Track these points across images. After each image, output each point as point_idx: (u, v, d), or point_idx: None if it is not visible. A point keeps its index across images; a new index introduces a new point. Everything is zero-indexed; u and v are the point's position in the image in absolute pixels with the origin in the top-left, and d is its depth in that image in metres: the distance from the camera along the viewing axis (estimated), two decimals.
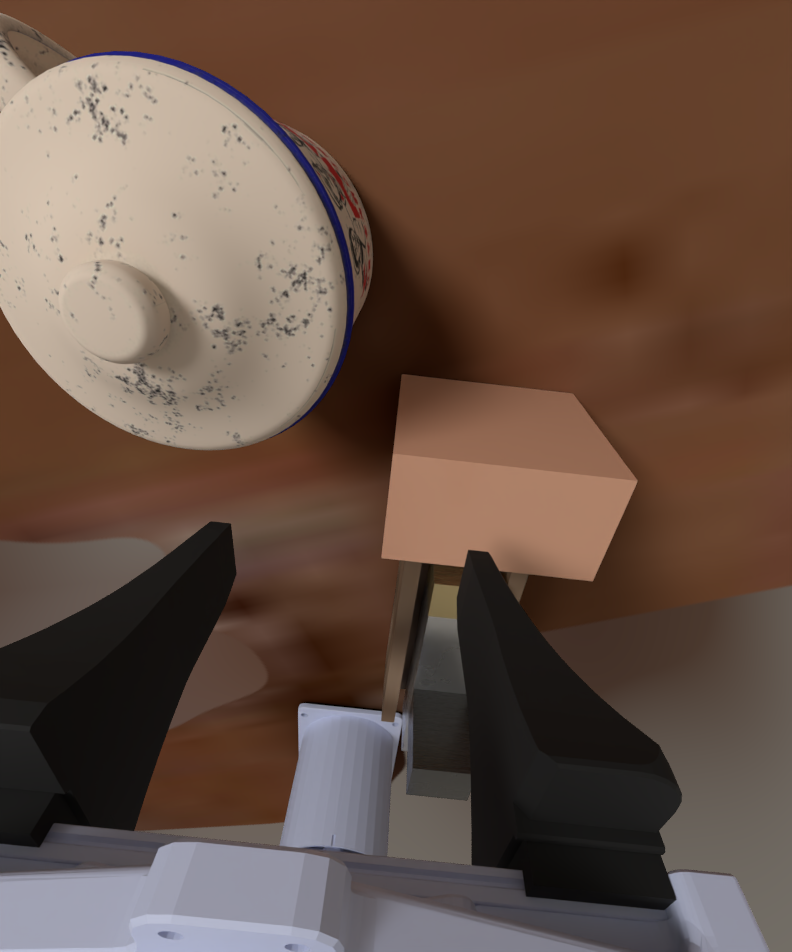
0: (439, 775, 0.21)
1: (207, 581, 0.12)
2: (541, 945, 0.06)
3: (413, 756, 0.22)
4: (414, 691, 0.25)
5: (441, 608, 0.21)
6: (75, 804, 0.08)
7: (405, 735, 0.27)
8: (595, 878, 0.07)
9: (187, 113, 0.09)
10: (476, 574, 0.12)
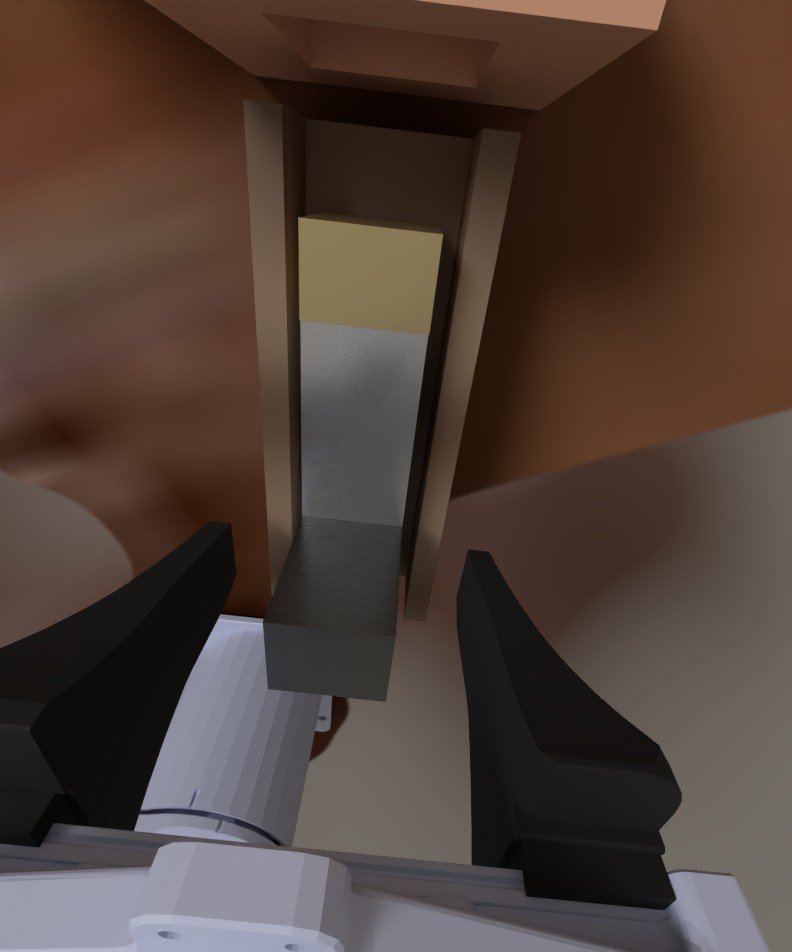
0: (321, 639, 0.11)
1: (207, 581, 0.12)
2: (541, 945, 0.06)
3: (271, 605, 0.11)
4: (302, 519, 0.14)
5: (323, 296, 0.10)
6: (75, 804, 0.08)
7: None
8: (595, 878, 0.07)
9: None
10: (476, 574, 0.12)
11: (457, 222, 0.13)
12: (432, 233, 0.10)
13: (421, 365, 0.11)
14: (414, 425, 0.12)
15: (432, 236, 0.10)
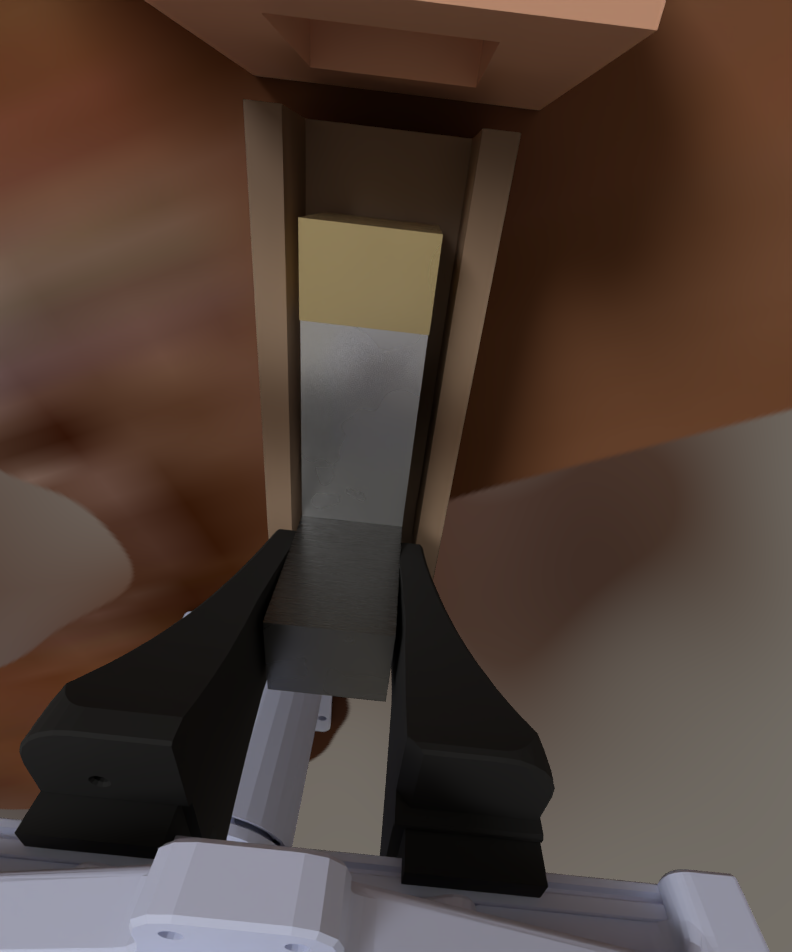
0: (321, 639, 0.11)
1: None
2: (541, 945, 0.06)
3: (271, 604, 0.11)
4: (302, 519, 0.14)
5: (322, 295, 0.10)
6: (192, 816, 0.08)
7: None
8: (469, 865, 0.07)
9: None
10: (400, 566, 0.12)
11: (456, 222, 0.13)
12: (432, 233, 0.10)
13: (421, 365, 0.11)
14: (414, 425, 0.12)
15: (432, 235, 0.10)
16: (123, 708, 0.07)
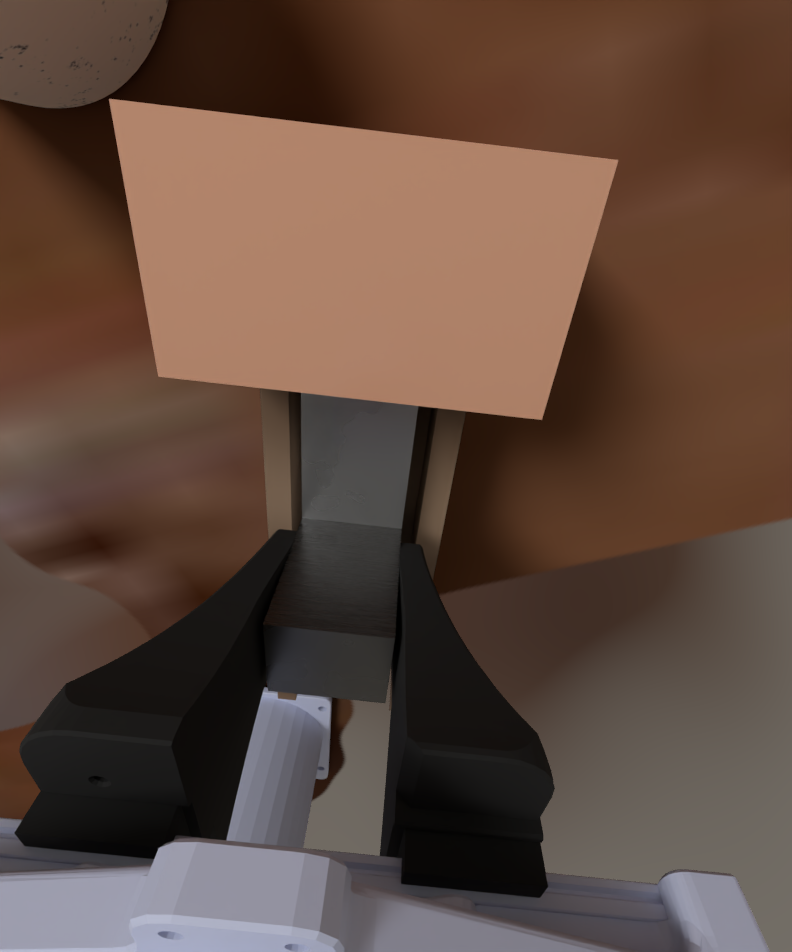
0: (321, 641, 0.11)
1: None
2: (541, 945, 0.06)
3: (271, 607, 0.11)
4: (302, 521, 0.14)
5: None
6: (191, 816, 0.08)
7: None
8: (468, 865, 0.07)
9: None
10: (400, 566, 0.12)
11: (426, 422, 0.16)
12: None
13: None
14: (413, 428, 0.12)
15: None
16: (124, 708, 0.07)
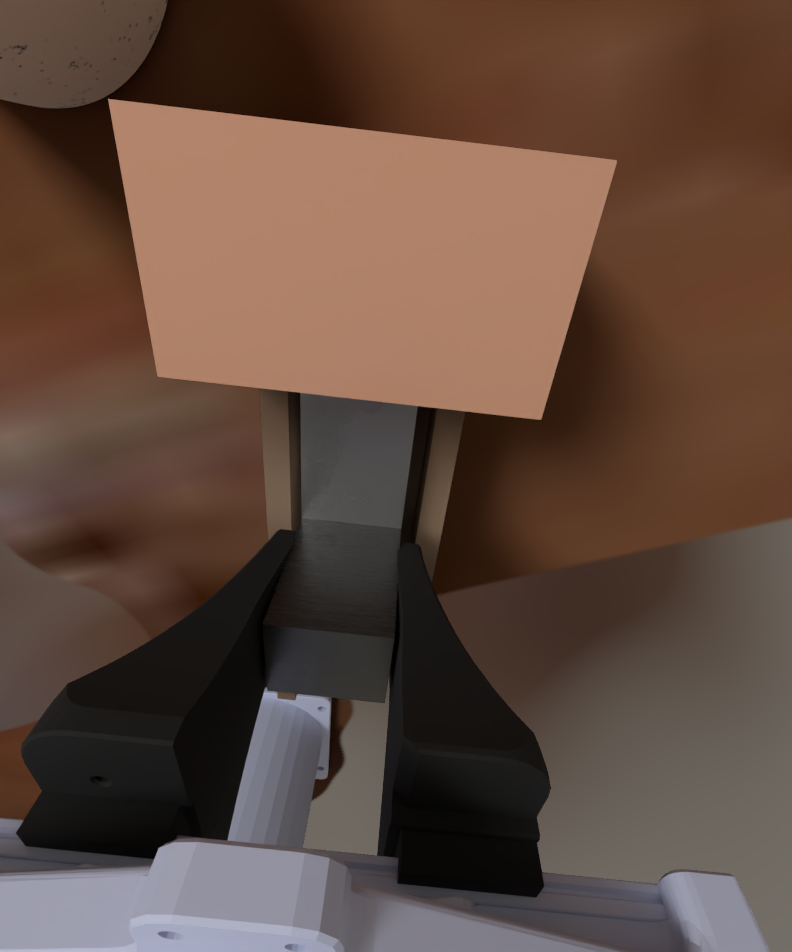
0: (320, 641, 0.11)
1: None
2: (541, 945, 0.06)
3: (270, 607, 0.11)
4: (302, 521, 0.14)
5: None
6: (193, 816, 0.08)
7: None
8: (465, 865, 0.07)
9: None
10: (398, 566, 0.12)
11: (426, 422, 0.16)
12: None
13: None
14: (413, 428, 0.12)
15: None
16: (125, 708, 0.07)
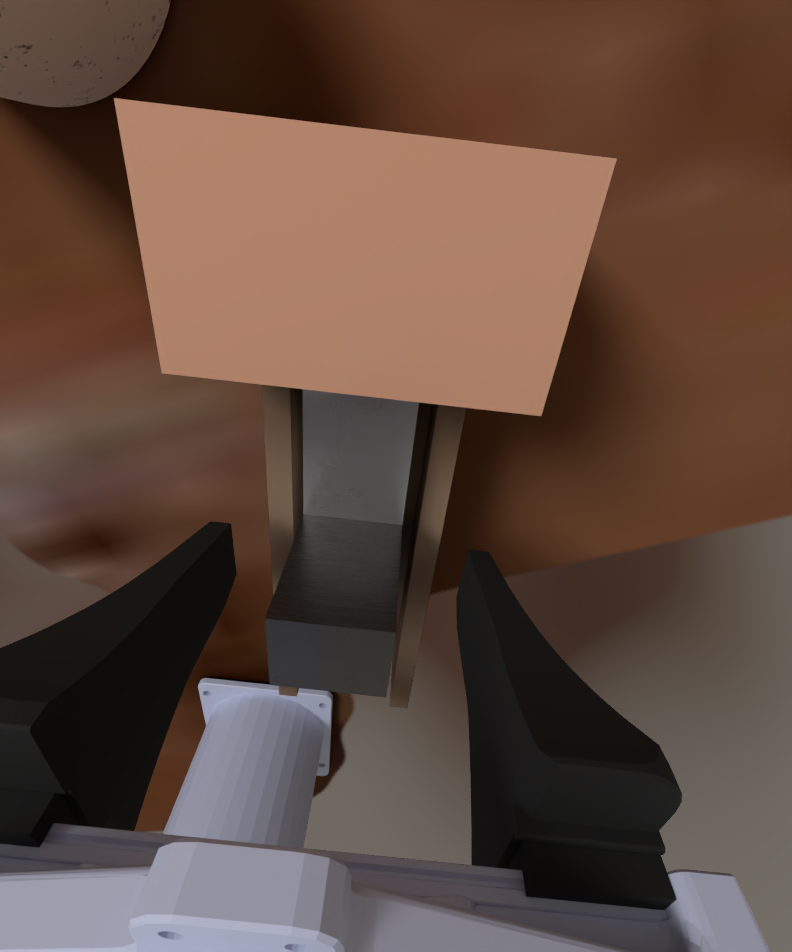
0: (322, 635, 0.11)
1: (207, 581, 0.12)
2: (541, 945, 0.06)
3: (273, 601, 0.11)
4: (304, 517, 0.14)
5: None
6: (75, 804, 0.08)
7: None
8: (595, 878, 0.07)
9: None
10: (476, 574, 0.12)
11: (427, 419, 0.16)
12: None
13: None
14: (414, 425, 0.12)
15: None
16: None
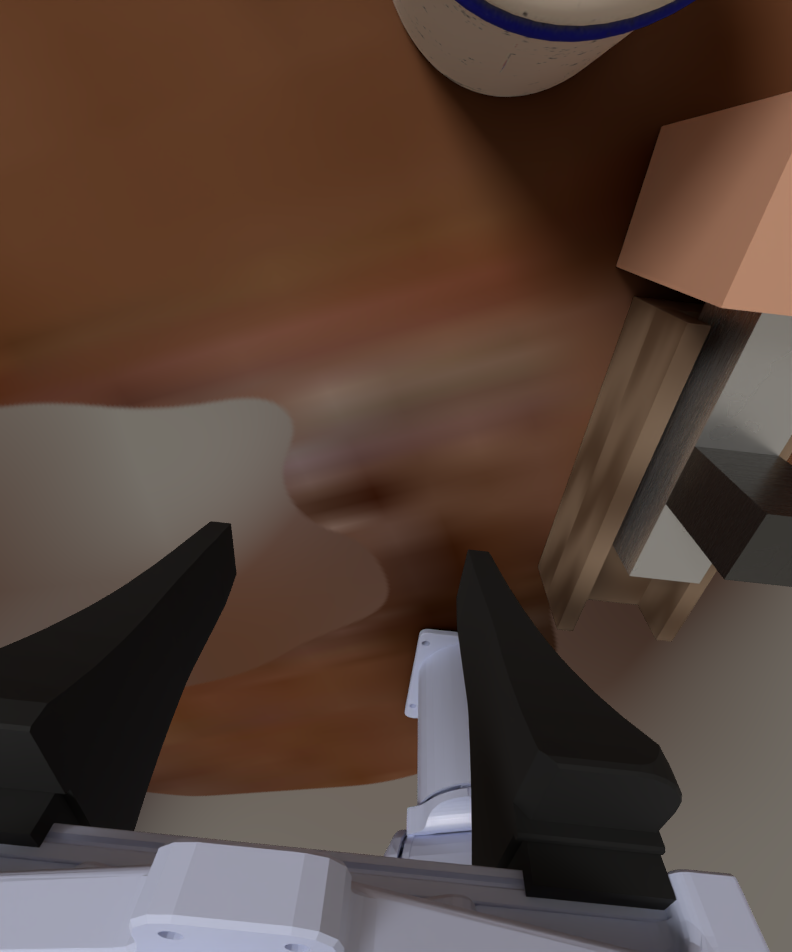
0: None
1: (207, 581, 0.12)
2: (541, 945, 0.06)
3: (756, 503, 0.13)
4: (697, 449, 0.16)
5: None
6: (75, 804, 0.08)
7: (646, 545, 0.19)
8: (595, 878, 0.07)
9: None
10: (476, 574, 0.12)
11: None
12: None
13: None
14: None
15: None
16: None
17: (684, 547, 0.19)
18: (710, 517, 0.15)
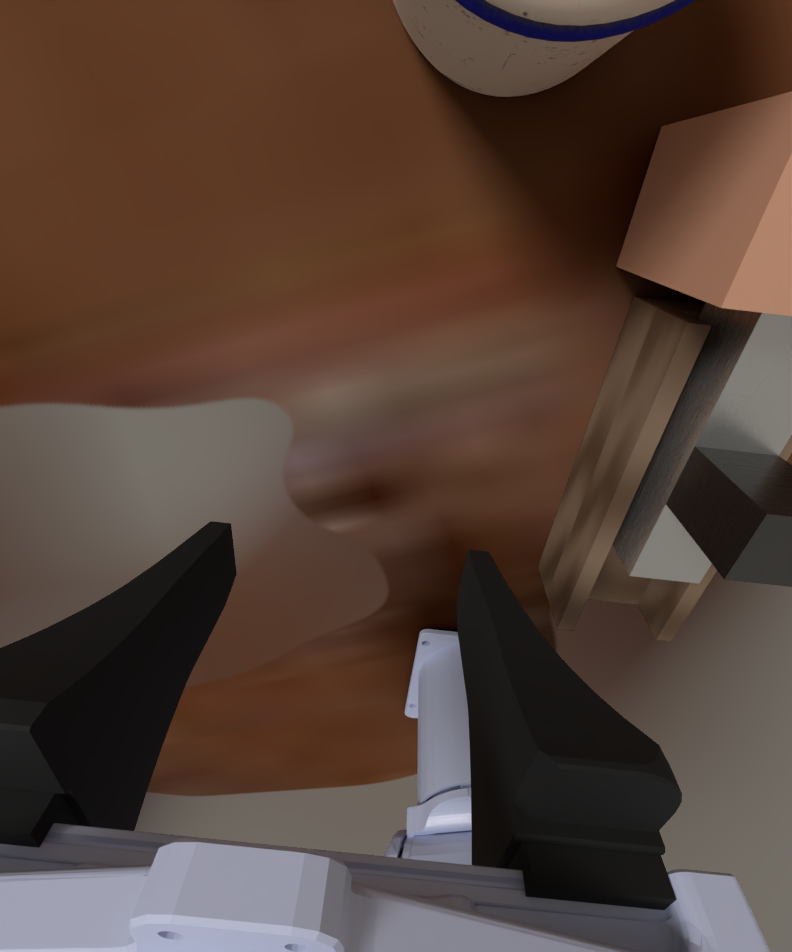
0: None
1: (207, 581, 0.12)
2: (541, 945, 0.06)
3: (756, 503, 0.13)
4: (697, 449, 0.16)
5: None
6: (75, 804, 0.08)
7: (646, 545, 0.19)
8: (595, 878, 0.07)
9: None
10: (476, 574, 0.12)
11: None
12: None
13: None
14: None
15: None
16: None
17: (684, 547, 0.19)
18: (710, 517, 0.15)
